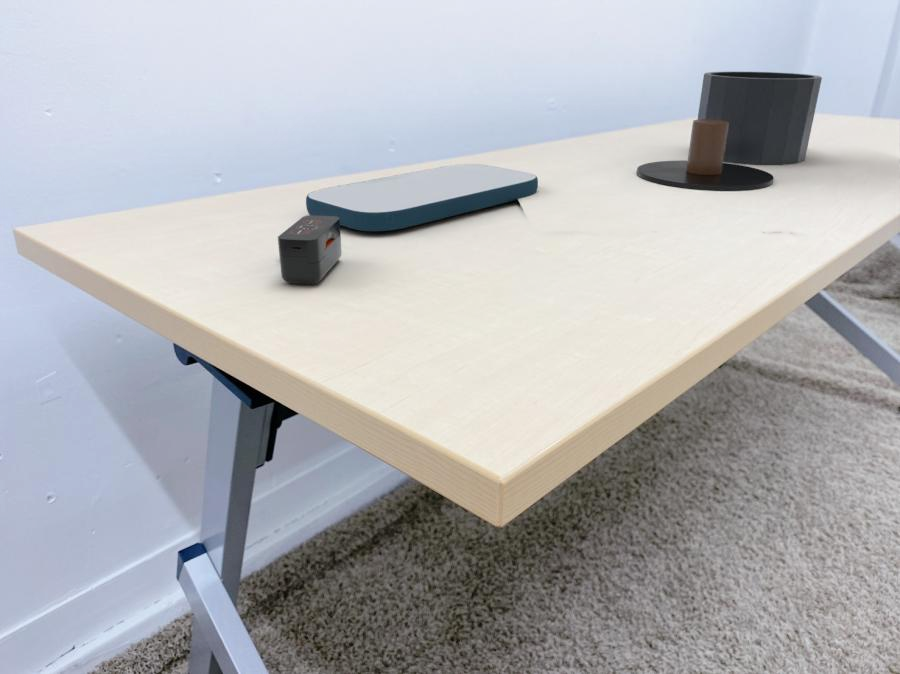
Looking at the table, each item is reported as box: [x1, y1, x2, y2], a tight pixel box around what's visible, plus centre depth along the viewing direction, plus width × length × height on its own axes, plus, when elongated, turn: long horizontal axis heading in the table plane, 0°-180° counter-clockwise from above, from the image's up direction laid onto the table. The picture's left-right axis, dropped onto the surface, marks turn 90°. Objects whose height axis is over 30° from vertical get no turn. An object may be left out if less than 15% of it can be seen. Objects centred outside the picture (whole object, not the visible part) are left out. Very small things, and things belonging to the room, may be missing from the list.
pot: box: [697, 71, 823, 166], centre depth 91 cm, size 14×14×10 cm
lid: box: [636, 119, 775, 192], centre depth 79 cm, size 15×15×7 cm
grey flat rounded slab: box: [305, 163, 539, 232], centre depth 69 cm, size 24×12×2 cm, turn 136°
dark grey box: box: [277, 215, 343, 285], centre depth 50 cm, size 5×7×3 cm, turn 173°
